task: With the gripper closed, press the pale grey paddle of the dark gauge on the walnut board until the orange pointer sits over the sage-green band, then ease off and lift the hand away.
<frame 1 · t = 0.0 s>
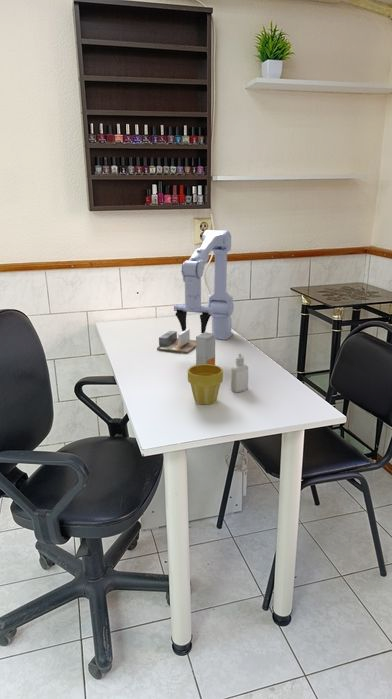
hand: (193, 331, 180), 10 cm above the table, fingers open, 7 cm apart
eye dropper bottle: (239, 390, 154), on the table
plant pot: (205, 400, 147), on the table
skincare box: (205, 368, 173), on the table
gauge frame: (180, 346, 195), on the table
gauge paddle: (182, 338, 192), point 4 cm above the table, slide at 0.0 cm
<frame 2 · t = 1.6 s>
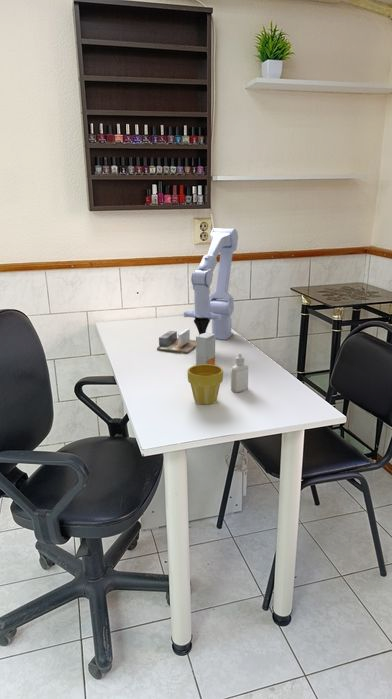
hand: (202, 336, 190), 5 cm above the table, fingers closed
nothing on the table moved.
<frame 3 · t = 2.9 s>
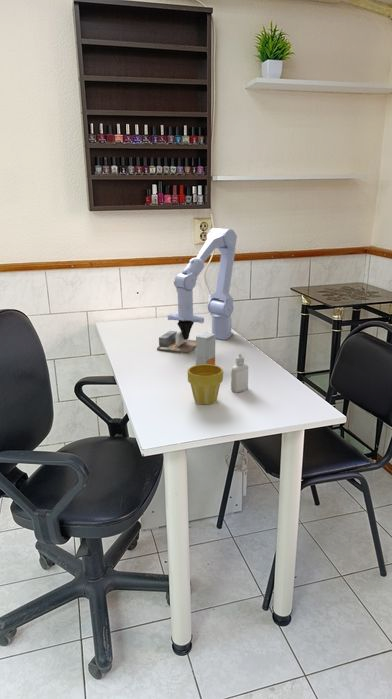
hand: (186, 339, 193), 3 cm above the table, fingers closed
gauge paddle: (179, 338, 192), point 4 cm above the table, slide at 1.2 cm, touching gripper
everything else where it was.
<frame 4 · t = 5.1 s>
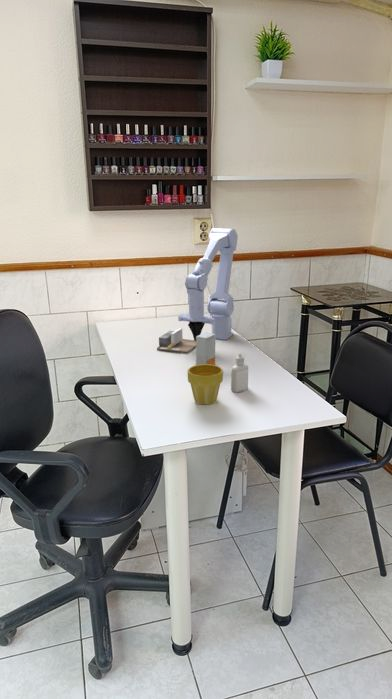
hand: (196, 340, 191), 3 cm above the table, fingers closed
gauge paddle: (174, 337, 193), point 4 cm above the table, slide at 3.1 cm
everything else where it was.
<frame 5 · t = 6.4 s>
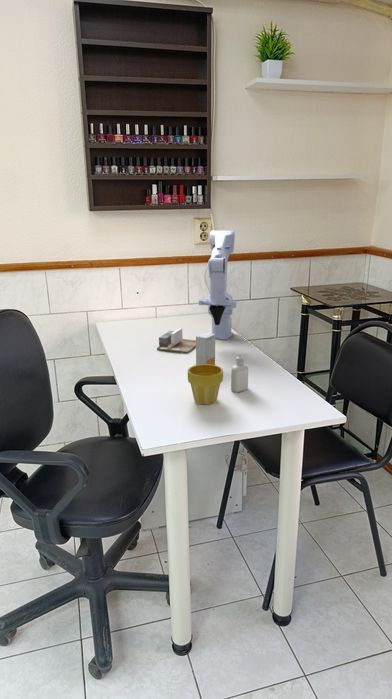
hand: (217, 324, 190), 9 cm above the table, fingers closed
nothing on the table moved.
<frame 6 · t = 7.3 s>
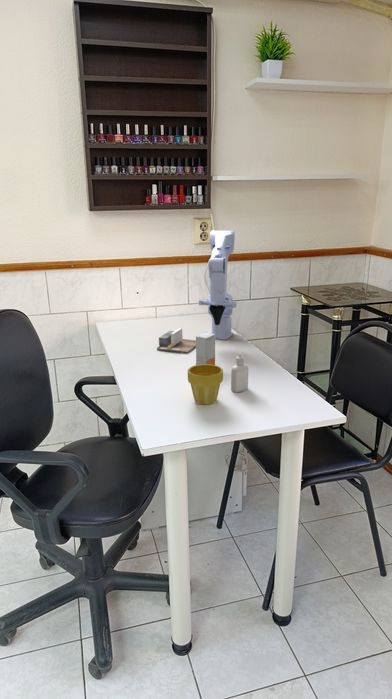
hand: (217, 324, 190), 9 cm above the table, fingers closed
nothing on the table moved.
at the end: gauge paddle slide at 3.1 cm; skincare box moved 0.2 cm from its start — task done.
